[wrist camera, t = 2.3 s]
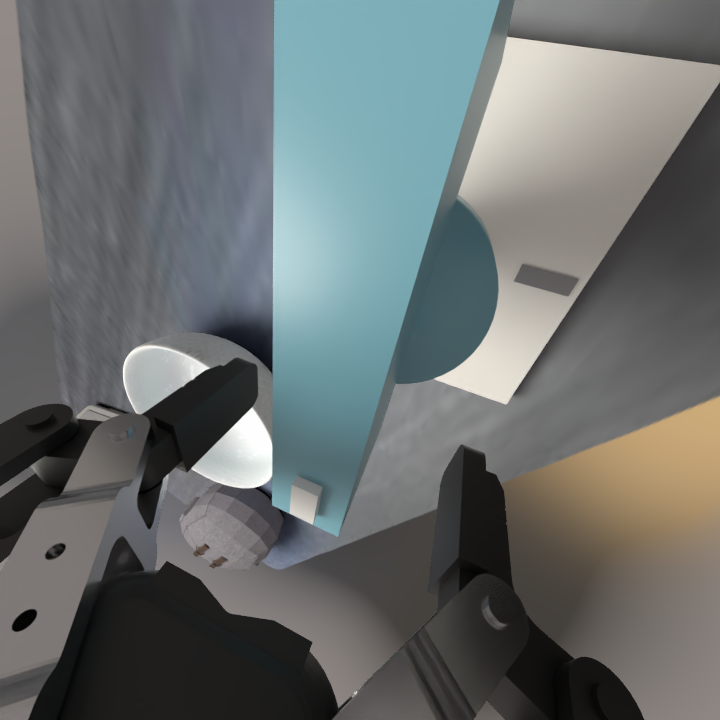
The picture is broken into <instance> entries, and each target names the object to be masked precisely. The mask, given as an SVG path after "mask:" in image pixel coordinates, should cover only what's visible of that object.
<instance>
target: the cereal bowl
mask: <svg viewBox="0 0 720 720" xmlns="http://www.w3.org/2000/svg"><path fill="white" fill-rule="evenodd" d="M237 357H238V358H241V359H244V360H246V361H249V362H251V363H254V364H256V365H257V368H258V397H257V400H256V402H255V404H254V405H253V407H252V408H251V409H250V410H249V411H248V412H247V413H246V414H245V415H244V416H243V417H242V418H241V419H240V420H239V421H238V422H237V423H236V424H235V425H234V426H233V427H232V428H231V429H230V430H229V431H228V432H227V433H226V434H225V435H224V436H223V437H222V438H221V439H220V440H219V441H218V442H217V443H216V444H215V445H214V446H213V447H212V448H211V449H210V450H209V451H208V452H207V453H206V454H205V455H204V456H203V457H202V458H201V459H200V460H199V461H198V462H197V463H196V464H195V465H194V466H193V467H192V468H191V469H192V470H194V471H196V472H197V473H199V474H201V475H203V476H205V477H207V478H209V479H211V480H213V481H215V482H218V483H221V484H224V485H228V486H232V487H237V488H255V487H259V486H262V485H264V484H265V483H267V482H268V481H269V480H270V479H271V478H272V412H273V374H272V373H271V372H270V370H269V369H268V368H267V367H266V366H265V365H264V364H263V363H262V362H261V361H260V360H259V359H258V358H257V357H255V356H254V355H253V354H252V353H250V352H249V351H248V350H246V349H245V348H242V347H241V346H240V345H237V344H235V343H233V342H231V341H229V340H227V339H224V338H220V337H218V336H213V335H211V334H205V333H197V332H194V333H193V332H187V333H178V334H172V335H168V336H163V337H161V338H158V339H155V340H153V341H150V342H147V343H145V344H143V345H140V346H138V347H137V348H135V349H134V350H132V351H131V352H130V353H129V355H128V356H127V358H126V360H125V363H124V367H123V380H124V386H125V389H126V392H127V395H128V398H129V400H130V402H131V404H132V406H133V408H134V410H135V412H136V413H137V414H142V413H144V412H146V411H147V410H149V409H150V408H151V407H153V406H154V405H156V404H157V403H159V402H160V401H162V400H163V399H164V398H166V397H167V396H169V395H170V394H172V393H173V392H175V391H176V390H178V389H179V388H180V387H184V385H185V384H186V383H188V382H189V381H191V380H194V378H195V377H196V376H198V375H199V374H201V373H202V372H204V371H205V370H207V369H210V368H213V367H216V366H218V365H222V366H224V365H226V364H227V363H228V362H230V361H231V360H233V359H234V358H237Z"/></svg>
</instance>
